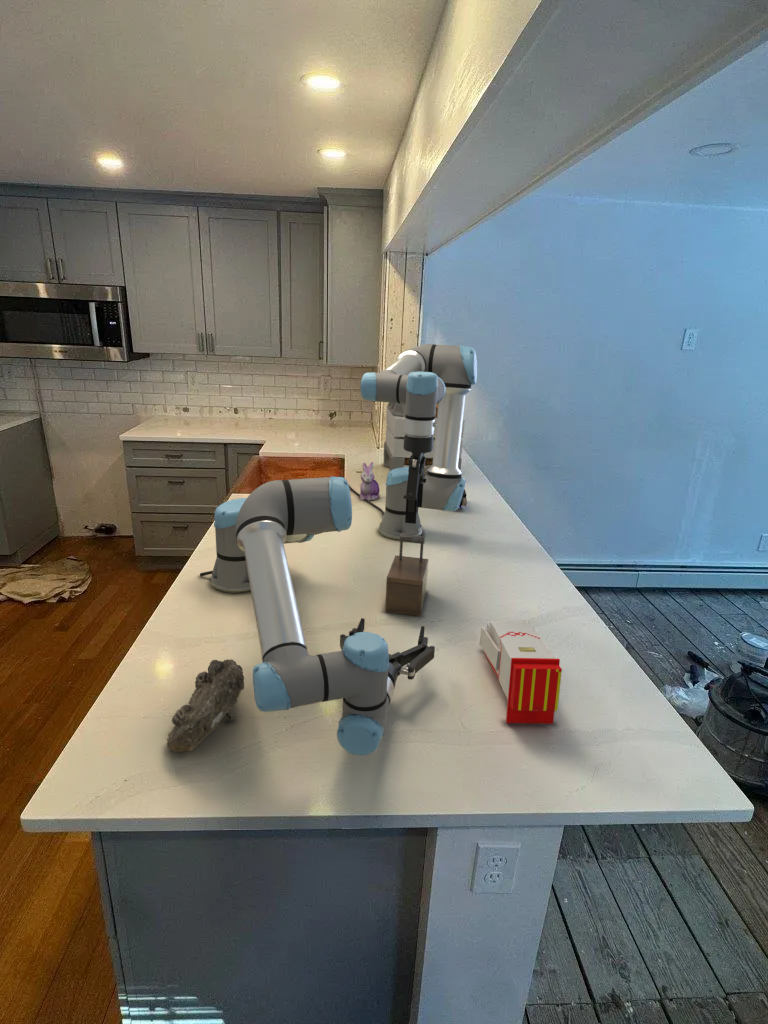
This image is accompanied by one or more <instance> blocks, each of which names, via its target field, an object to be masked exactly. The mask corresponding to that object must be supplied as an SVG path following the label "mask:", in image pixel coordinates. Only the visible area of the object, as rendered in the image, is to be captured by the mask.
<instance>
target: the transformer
mask: <svg viewBox="0 0 768 1024" xmlns="http://www.w3.org/2000/svg"><path fill="white" fill-rule="evenodd" d="M387 403H388V404H387V405H386V413H385V414H386V415H385V423H386V428H385V438H384V442H383V466H384V467H388V468H389V472H390V471H391V470H393V469H396V468H401V467H405V466H406V467H409V458H410V456H412V453H411V452H408V451H406V450H404V448H403V446H404V436H405V435H406V434H405V433H404V424H405V414H406V404H401V403H389V402H387ZM437 412H438V404H436V410H435V421H434V423H437ZM464 429H465V419H464V418H463V423H462V433H461V442H460V452H459V461H458V468H459V470H460V471H461V472H462V461H463V460H462V453H463V442H464V441H463V440H462V439H463V438H464V431H465V430H464ZM435 433H436V427H434V434H433V435H432V436H433V438H434V440H433V450H432V451H431V452H428V453H425V457H426V461H425V467H431V466H432V464H433V454H434V443H435Z"/></svg>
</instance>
